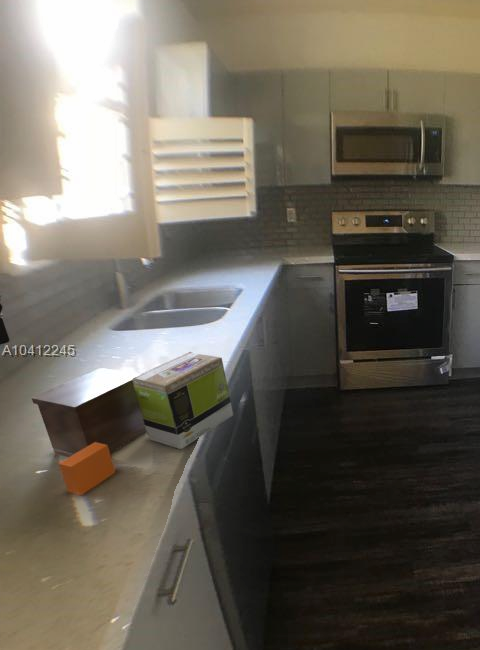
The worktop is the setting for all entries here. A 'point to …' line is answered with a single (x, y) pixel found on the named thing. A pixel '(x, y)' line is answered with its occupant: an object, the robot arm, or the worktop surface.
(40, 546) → the worktop surface
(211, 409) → the tea box
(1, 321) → the robot arm
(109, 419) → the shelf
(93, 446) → the block
